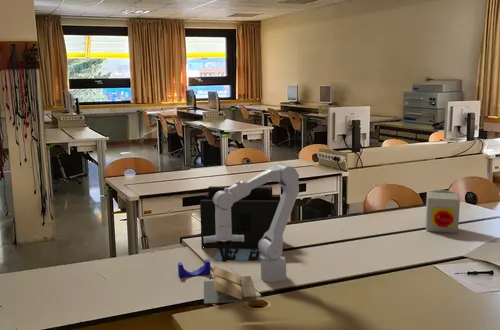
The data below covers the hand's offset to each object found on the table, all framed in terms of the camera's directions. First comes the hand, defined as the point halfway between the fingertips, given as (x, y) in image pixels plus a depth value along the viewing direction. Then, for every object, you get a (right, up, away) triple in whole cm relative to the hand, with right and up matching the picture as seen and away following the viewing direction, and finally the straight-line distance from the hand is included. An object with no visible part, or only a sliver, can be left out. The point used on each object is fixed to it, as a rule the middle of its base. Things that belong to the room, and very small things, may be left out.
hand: (224, 261), depth 193 cm
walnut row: (+8, -10, -3) cm, 13 cm away
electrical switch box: (+103, +2, +68) cm, 123 cm away
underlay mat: (+2, -11, -3) cm, 11 cm away
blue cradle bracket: (-12, -9, +13) cm, 20 cm away
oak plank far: (+1, -6, +1) cm, 7 cm away
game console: (+5, -3, +45) cm, 45 cm away
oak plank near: (+1, -8, -9) cm, 12 cm away
